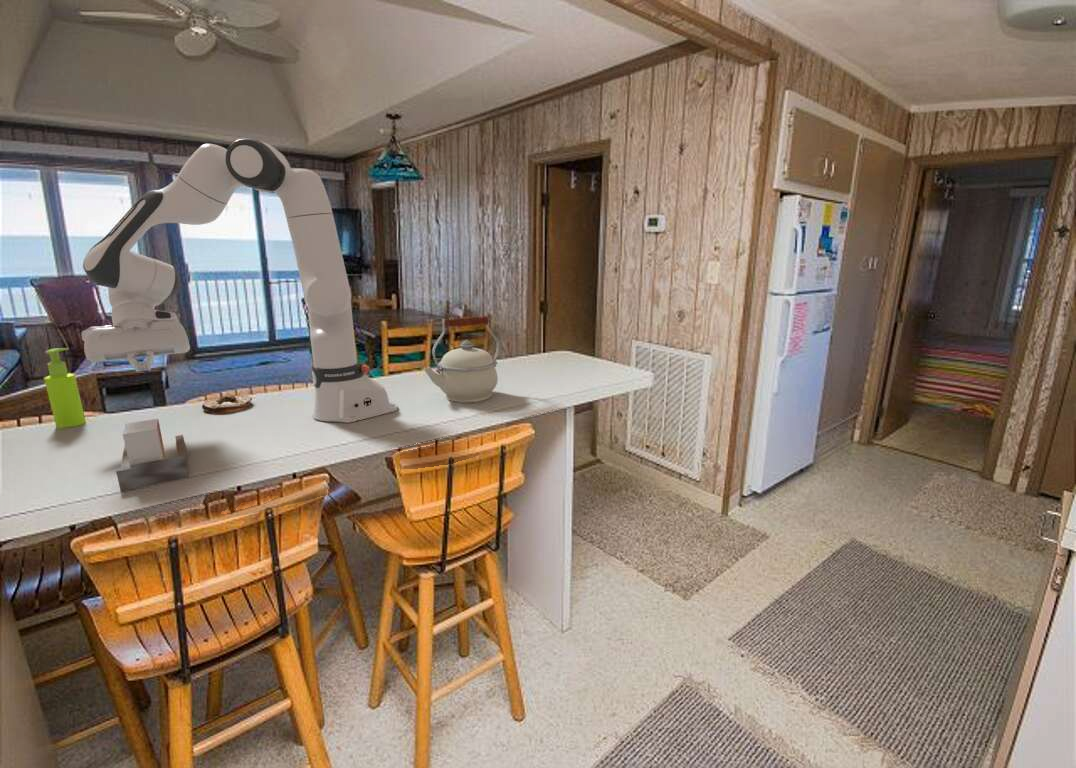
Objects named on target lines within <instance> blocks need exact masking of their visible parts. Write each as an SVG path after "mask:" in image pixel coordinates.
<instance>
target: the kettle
mask: <svg viewBox="0 0 1076 768" xmlns="http://www.w3.org/2000/svg"><path fill="white" fill-rule="evenodd" d="M489 322H490V321H489V316H488V315H483V316H468V317H467V316H463V317H454V318H452V319H448V318H442V321H441V324H442V332H441V334H440V335H439V336H438V338H437V340H436V341H435V342H434V344H433V347H432V351H431V353H432V355H431V356H432V357H433V360H434V363H435V365H436V367H437V368H436V369H435V371H434V370H433V368H432V367H430V366H424V367H422V368H423V371H424V372H425V373H426V374H427V376H428V377H429V379H430V381H431V382H432V383H433V384H434V385H436V386H437V387H438V388H439V389H440V390H441V391H442V392H443V393H444V394H445V398H446V399H447V400H448V401H450V402H454V403H461V404H462V403H463V404H464V403H465V404H469V403H471V404H472V403H479V402H483V401H486V400H489V398H491V396H492V392H493V391H494V389H495V388H496V386H497V385H498V381H499V380H498V374H497V370H496V368H497V365H498V361H497V359H498V355H499V353H500V342H499V339H498V338H497V337H496V335H495V334H494V333H493V332H492V330H491V328H490V325H489ZM481 324H483V325H485V326H486V327H485V328H486V329H487V332H488V333H489V334H490V335H491V336H492V337H493V339H494V341H495V342H496V349H495V353H494V357H492V355H491V354H490V353H489V352H488V351H486V350H484V349H482V348H476V347H473V346H474V344H473V342H472V341H470V340H469V339H465V340H463V341H462V342H461V344H460V348H459V347H458V348H454V349H452V350H449V351H447V352H446V353H445V354H444V355H443V356H442V358H441V360H440V361H439V362H438V360H437V358H436V348H437V346H438V345H439V343H440V342H441V340H442V339H443V337H444V335H445V333H446V329H447V328H449V327H467V326H476V325H481Z"/></svg>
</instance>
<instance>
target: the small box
mask: <svg viewBox="0 0 1076 768" xmlns="http://www.w3.org/2000/svg"><path fill="white" fill-rule="evenodd" d="M161 431H162V430H161V425H160V421H159V418H152V419H148V420H141V421H140V420H139V421H134V422H127V423H125V427H124V431H123V433H122V437H123V441H124V445H125V447H126V451H127V456H128V460H129V465H136V464H141V463H146V462H152V461H157V460H162V459H167V457H166V454H165V453H166V452H165V447H164V442H163V437H162V436H163V435H162V432H161Z"/></svg>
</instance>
